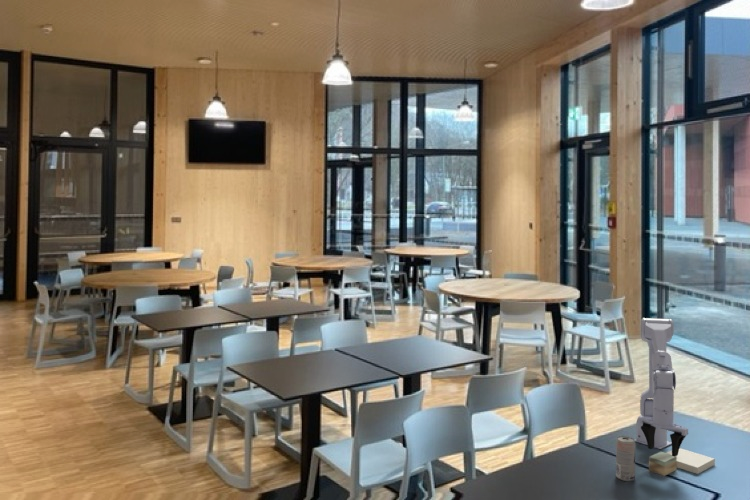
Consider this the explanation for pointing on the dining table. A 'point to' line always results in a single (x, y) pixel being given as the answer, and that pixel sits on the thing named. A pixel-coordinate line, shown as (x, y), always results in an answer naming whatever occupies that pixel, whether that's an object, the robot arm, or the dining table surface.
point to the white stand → (693, 461)
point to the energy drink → (625, 458)
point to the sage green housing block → (662, 463)
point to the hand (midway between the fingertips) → (662, 451)
